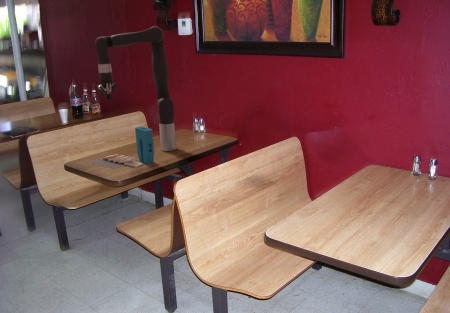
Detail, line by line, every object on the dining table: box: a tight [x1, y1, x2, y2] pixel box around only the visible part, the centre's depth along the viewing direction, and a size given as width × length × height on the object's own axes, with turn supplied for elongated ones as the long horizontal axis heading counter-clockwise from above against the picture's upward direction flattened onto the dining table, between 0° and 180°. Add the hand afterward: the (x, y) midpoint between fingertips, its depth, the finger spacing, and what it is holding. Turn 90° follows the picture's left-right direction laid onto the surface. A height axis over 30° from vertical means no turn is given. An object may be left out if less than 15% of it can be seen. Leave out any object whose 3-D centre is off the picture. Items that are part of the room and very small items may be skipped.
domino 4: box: [124, 160, 144, 168], centre depth 263 cm, size 1×5×10 cm
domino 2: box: [113, 155, 132, 162], centre depth 268 cm, size 1×5×10 cm
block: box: [134, 126, 155, 165], centre depth 265 cm, size 12×5×20 cm, turn 40°
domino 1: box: [108, 154, 126, 161], centre depth 270 cm, size 1×5×10 cm
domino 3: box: [118, 156, 137, 163], centre depth 265 cm, size 1×5×10 cm
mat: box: [87, 155, 126, 170], centre depth 269 cm, size 23×15×1 cm, turn 56°
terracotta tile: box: [103, 153, 121, 160], centre depth 273 cm, size 1×5×10 cm
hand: (108, 100), depth 280 cm, fingers closed
